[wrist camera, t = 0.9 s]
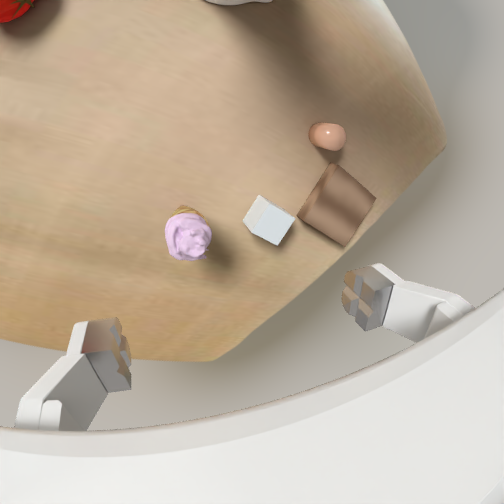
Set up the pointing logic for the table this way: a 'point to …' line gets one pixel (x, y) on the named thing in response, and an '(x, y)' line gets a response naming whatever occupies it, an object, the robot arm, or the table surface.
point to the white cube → (268, 220)
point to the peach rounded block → (327, 136)
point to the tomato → (13, 9)
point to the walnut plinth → (337, 204)
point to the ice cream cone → (187, 234)
